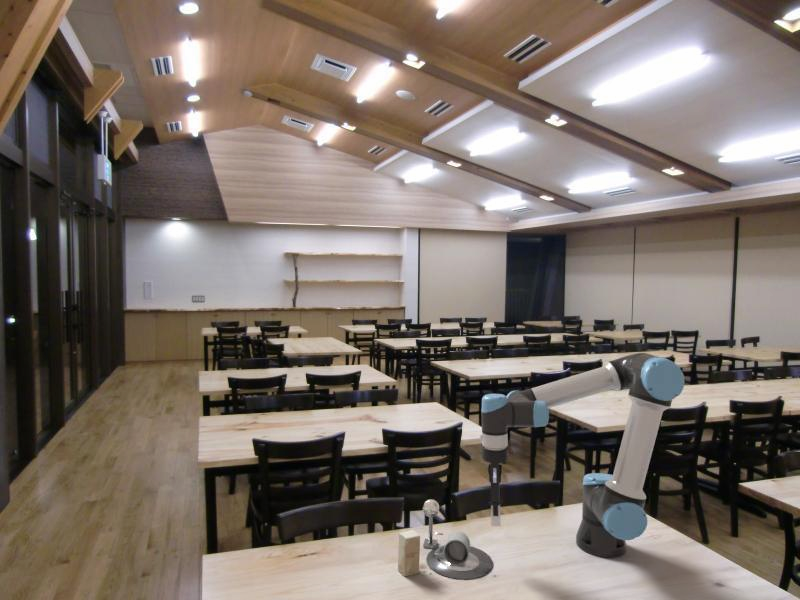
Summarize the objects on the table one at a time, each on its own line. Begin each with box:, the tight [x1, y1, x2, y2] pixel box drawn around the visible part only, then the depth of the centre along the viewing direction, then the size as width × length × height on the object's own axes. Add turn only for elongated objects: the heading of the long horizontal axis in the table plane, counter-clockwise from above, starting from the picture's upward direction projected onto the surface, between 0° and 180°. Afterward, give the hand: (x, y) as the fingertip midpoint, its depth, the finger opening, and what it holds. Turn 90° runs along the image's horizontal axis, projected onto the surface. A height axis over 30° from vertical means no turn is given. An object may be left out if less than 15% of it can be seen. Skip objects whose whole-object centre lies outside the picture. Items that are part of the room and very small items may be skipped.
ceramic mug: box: [435, 531, 471, 566], centre depth 160 cm, size 11×8×8 cm
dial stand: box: [422, 499, 444, 550], centre depth 169 cm, size 6×4×14 cm, turn 79°
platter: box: [426, 544, 494, 580], centre depth 159 cm, size 20×20×1 cm
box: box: [397, 529, 421, 577], centre depth 153 cm, size 5×4×11 cm
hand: (495, 524), depth 157 cm, fingers closed
